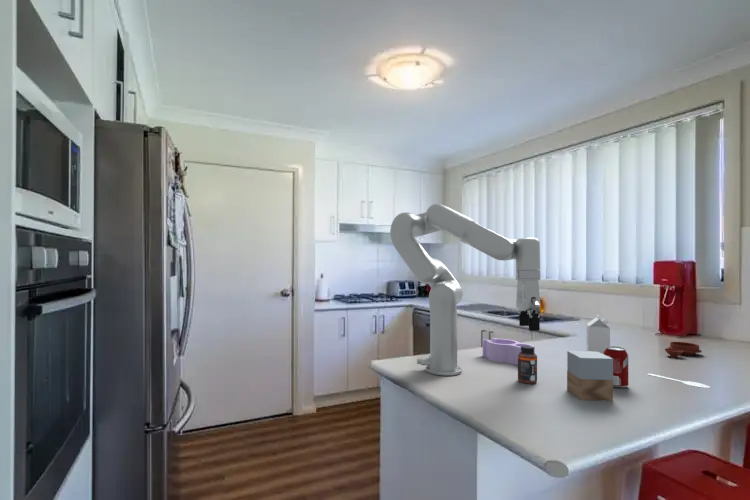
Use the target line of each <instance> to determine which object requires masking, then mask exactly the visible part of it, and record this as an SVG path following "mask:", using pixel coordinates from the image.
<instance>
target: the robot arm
mask: <svg viewBox="0 0 750 500" xmlns="http://www.w3.org/2000/svg"><path fill="white" fill-rule="evenodd" d="M439 231H441V232H443V233H445V234H447V235H449V236H451V237H452V238H455V239H456V240H458V241H459V242H461V243H463V244H466V245H468V246H470V247H472V248H474V249H475V250H478V251H479V252H481V253H483V254H485V255H487V256H489V257H491V258H492V259H495V260H498V261H511V260H515V280H516V281H517V282H516V302H515V303H516V305H515V306H516V309H518V319H519V320H518V321H519V322H518V323H519V326H520V327H528V330H529V331H530V332H533V331H534V332H539V331H540V328H541V327H540V326H541V325H540V317H541V316H540V314H541V313H540V308H541V299H540V297H541V295H540V284H539V281H541V246H540V245H541V244H540V240H539V239H538V238H536V237H520V238H518V239H517V238H516V239H513V238H506V237H504V236H503V235H501V234H498V233H496V232H495V231H493V230H491V229H489V228H486V227H484V226H483V225H481V224H479V223H478V222H477V221H476V220H474V219H472V218H471V217H469V216H466V215H465V214H462V213H461V212H459V211H456V210H454V209H453V208H451V207H448V206H447V205H444V204H441V203H434V204H431V205H430V206H429V207H428V208H427V209H426V211H425V212H422V213H418V214H414V213H412V212H408V211H407V212H401V213H398V214H397V215H396V216H395V217H394V218H393V220H392V222H391V226H390V231H389V234H390V240H391V243H392V245H393V248H394V249H395V250H396V252H397V254H398V255H400V257H401V258H402V260H403V261H404V263H405V264H406V266H407V267H408V268H409V271H410V272H411V273H412V274H413V275H414V276H415V277H414V278H416V280H417V281H419V283H422V284H426V285H427V284H428V286H429V287H430V291H429V293H428V303H429V304H428V306H429V315H430V316H429V320H430V323H429V326H430V327H429V328H430V330H429V336H430V338H429V339H430V344H429V345H430V346H429V351H430V352H429V355H428V358H427V357H426V358H424V359H423V358H417V359H416V365H420V366H425V371H426V372H427V373H429V374H432V375H437V376H442V377H443V376H444V377H445V376H451V377H452V376H457V375H460V374H461V373H462V372H463V371H462V369H463V368H462V367H460V366H458V309H457V304H459V303H460V302H461V300H462V299H463V292H464V291H463V288H462V287H461V285H460V284H459V282H458V281H457V279H456V278H455V277H454V275H453V274H452V273H451V271H450V270H449V269H448V268H447V266H446V265H445V264H444V263H443V262H442V261H441V260H440V259H438V258H435V257H431V256H430V255H429V253H428V252H427V251H426V250H425V248H424V246H423V245H422V244H421V243H420V242H419V241H418V240H417V237H418V238H419V237H421V236H422V237H423V236H426V235H429V234H432V233H436V232H439Z"/></svg>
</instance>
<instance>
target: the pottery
mask: <svg viewBox="0 0 750 500" xmlns="http://www.w3.org/2000/svg"><path fill="white" fill-rule="evenodd" d="M669 344H670V345H669V346H668V347H666V348H664V351H665V352H666V353H667V354H668V355H669V358H673V359H676V358H677V359H678V358H679V356H681V355H683V356H694V355H695V354H697V353H698V354H700V353H702V350H701V349H700V345H699V344H696V343H692V342H686V341H685V342H684V341H670V342H669Z"/></svg>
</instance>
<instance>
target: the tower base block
mask: <svg viewBox="0 0 750 500" xmlns="http://www.w3.org/2000/svg"><path fill="white" fill-rule="evenodd" d="M566 389H567V391H568V392H569V393H570V394H572V395H573V394H574V395H573V396H574V397H576V398H577V397H578V398H577V399H579V400H580V401H602V400H606V401H607V402H609V401H610V402H613V401H614V387H613V380H595V379H580V378H578V377H577V376H575V375H573V374H572V373H570V372H569V371H567V370H566Z"/></svg>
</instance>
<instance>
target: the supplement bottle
mask: <svg viewBox="0 0 750 500" xmlns="http://www.w3.org/2000/svg"><path fill="white" fill-rule="evenodd" d="M517 381H518V382H520V383H522V384H536V383H537V382H538V355H537V354H536V353H534V347H532V346H521V352H520V353H519V354H518V365H517Z"/></svg>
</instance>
